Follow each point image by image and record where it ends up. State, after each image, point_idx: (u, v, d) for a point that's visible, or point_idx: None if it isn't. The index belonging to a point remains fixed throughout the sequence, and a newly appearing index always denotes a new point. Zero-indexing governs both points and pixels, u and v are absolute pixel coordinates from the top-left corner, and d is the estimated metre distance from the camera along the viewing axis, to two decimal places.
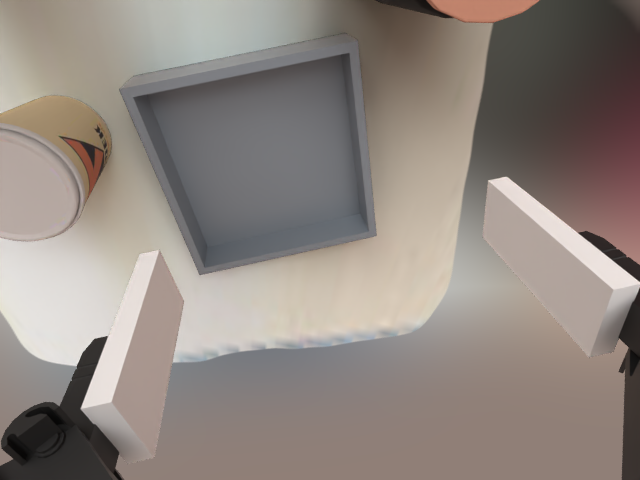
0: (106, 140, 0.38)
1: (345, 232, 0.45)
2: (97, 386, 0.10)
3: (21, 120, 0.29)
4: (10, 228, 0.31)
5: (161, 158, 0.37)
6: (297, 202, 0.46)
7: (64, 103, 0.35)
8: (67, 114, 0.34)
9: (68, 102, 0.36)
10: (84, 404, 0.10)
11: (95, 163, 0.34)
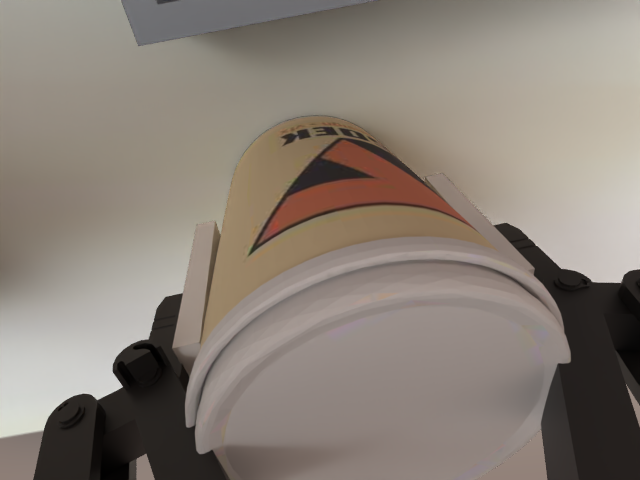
0: (320, 125, 0.15)
1: None
2: (183, 330, 0.11)
3: (204, 326, 0.10)
4: (499, 433, 0.11)
5: None
6: None
7: (230, 192, 0.16)
8: (236, 197, 0.14)
9: (232, 183, 0.16)
10: (174, 344, 0.11)
11: (361, 167, 0.11)
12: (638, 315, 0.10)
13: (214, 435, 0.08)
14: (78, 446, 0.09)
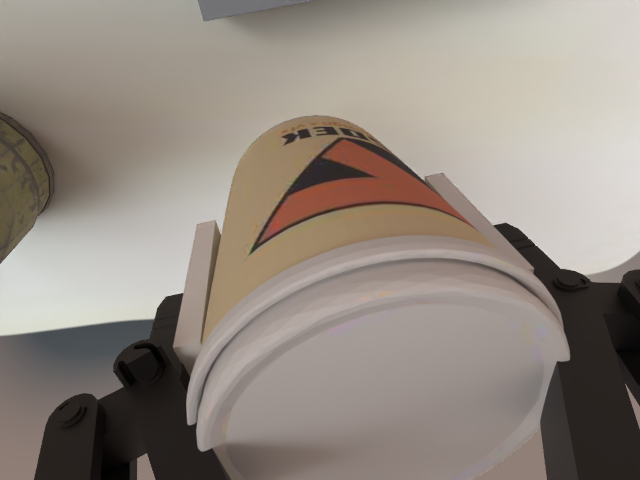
0: (321, 125, 0.15)
1: None
2: (183, 330, 0.11)
3: (205, 325, 0.10)
4: (499, 431, 0.11)
5: None
6: None
7: (230, 192, 0.16)
8: (237, 197, 0.14)
9: (233, 183, 0.16)
10: (175, 344, 0.11)
11: (361, 166, 0.11)
12: (637, 315, 0.10)
13: (215, 433, 0.08)
14: (79, 445, 0.09)
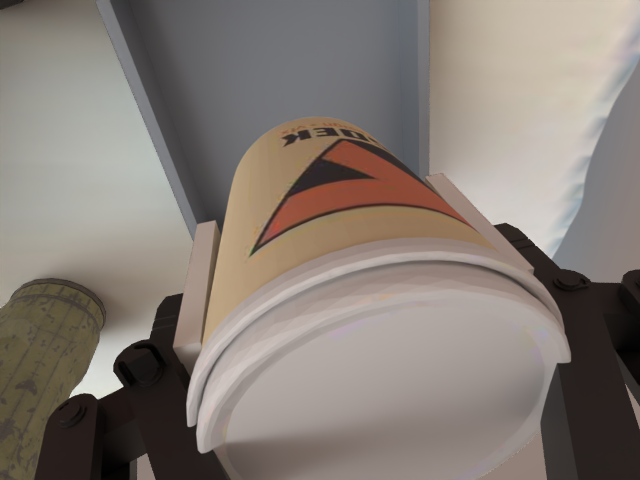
0: (321, 126, 0.15)
1: None
2: (183, 330, 0.11)
3: (205, 327, 0.10)
4: (500, 433, 0.11)
5: None
6: (359, 63, 0.31)
7: (230, 193, 0.16)
8: (237, 198, 0.14)
9: (233, 183, 0.16)
10: (175, 344, 0.11)
11: (361, 168, 0.11)
12: (637, 315, 0.10)
13: (215, 435, 0.08)
14: (79, 445, 0.09)
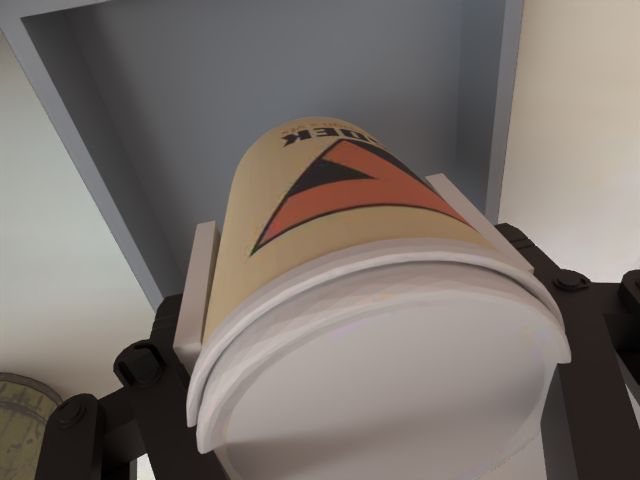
0: (321, 126, 0.15)
1: (495, 0, 0.17)
2: (183, 330, 0.11)
3: (205, 327, 0.10)
4: (500, 434, 0.11)
5: None
6: (401, 101, 0.22)
7: (230, 193, 0.16)
8: (237, 198, 0.14)
9: (233, 184, 0.16)
10: (175, 344, 0.11)
11: (361, 168, 0.11)
12: (637, 315, 0.10)
13: (215, 435, 0.08)
14: (79, 445, 0.09)
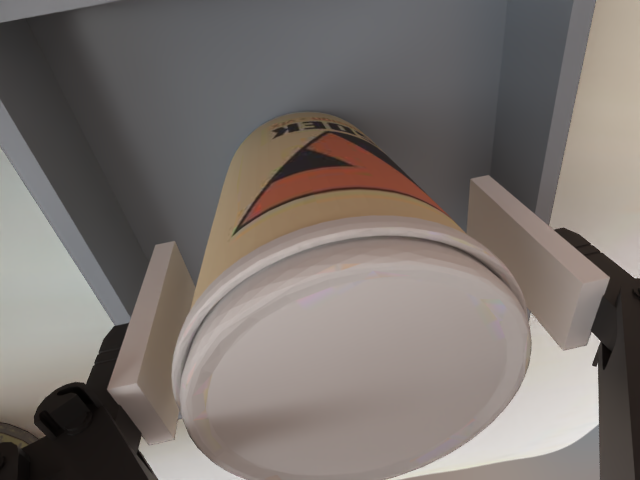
0: (310, 120, 0.16)
1: (556, 7, 0.14)
2: (121, 368, 0.11)
3: None
4: (469, 407, 0.11)
5: None
6: (430, 123, 0.19)
7: None
8: (228, 186, 0.14)
9: (226, 175, 0.17)
10: (110, 385, 0.10)
11: (342, 157, 0.12)
12: None
13: (197, 397, 0.09)
14: None
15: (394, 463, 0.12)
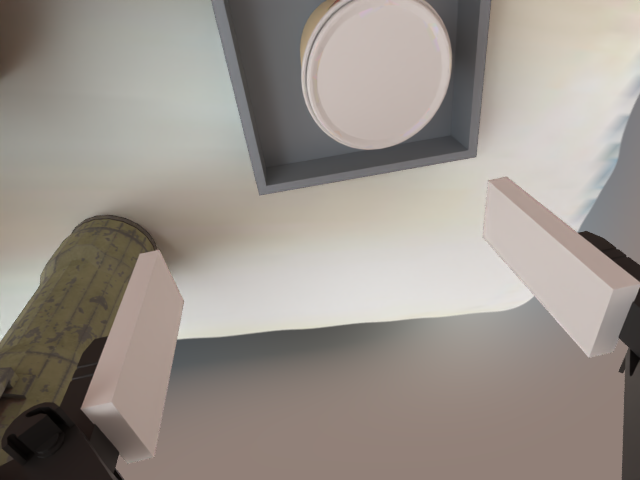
0: None
1: None
2: (97, 386, 0.10)
3: (305, 47, 0.25)
4: (426, 98, 0.25)
5: (329, 171, 0.36)
6: None
7: (305, 27, 0.30)
8: (313, 17, 0.28)
9: (305, 25, 0.31)
10: (84, 404, 0.10)
11: None
12: None
13: (315, 62, 0.23)
14: None
15: (392, 137, 0.26)
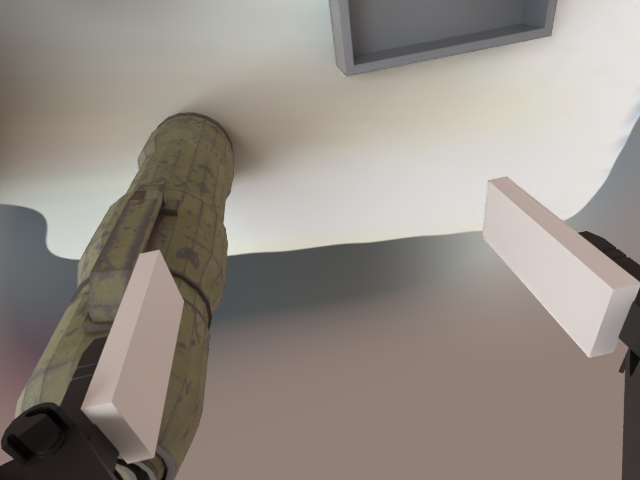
0: None
1: None
2: (97, 386, 0.10)
3: None
4: None
5: (412, 52, 0.38)
6: None
7: None
8: None
9: None
10: (84, 404, 0.10)
11: None
12: None
13: None
14: None
15: None
